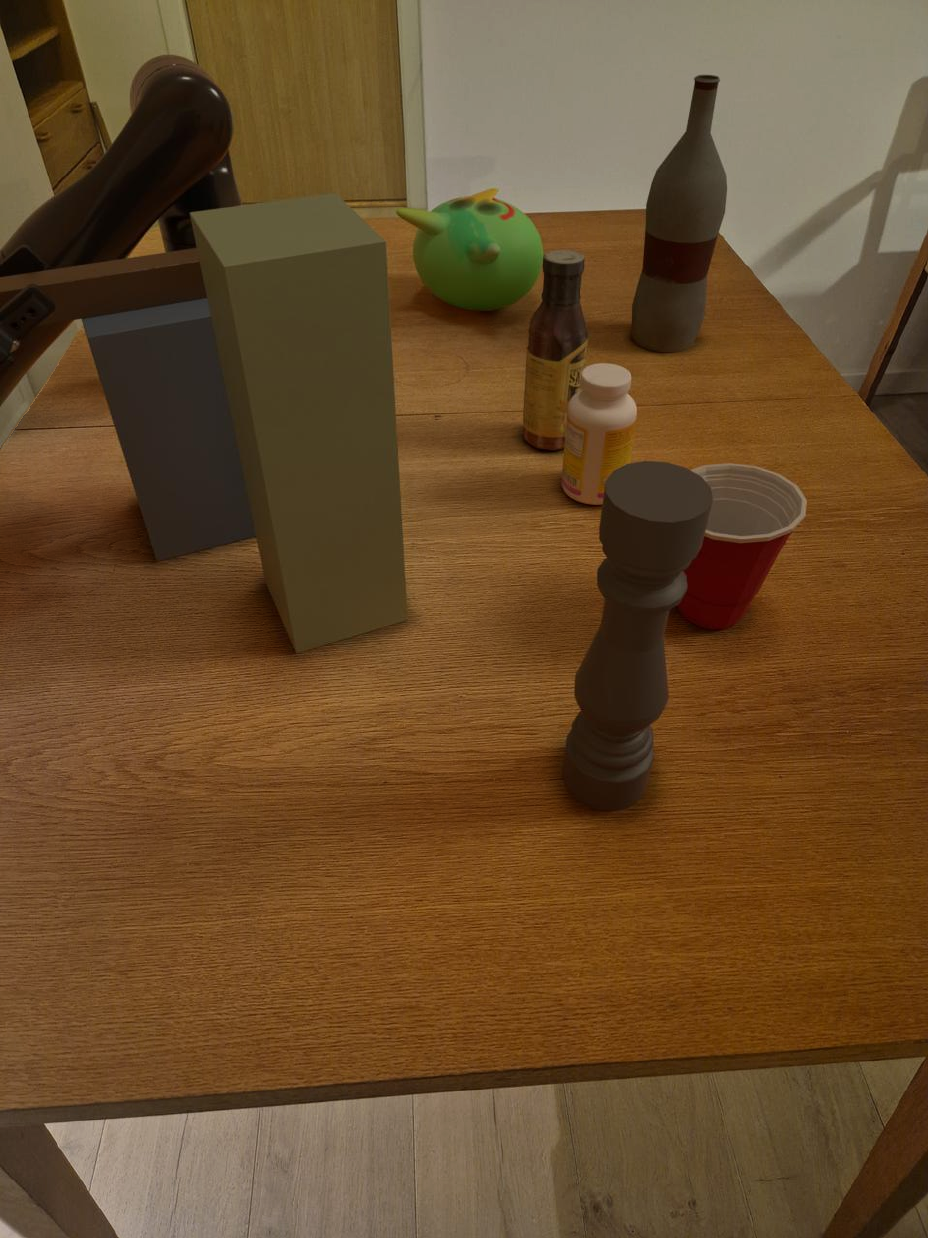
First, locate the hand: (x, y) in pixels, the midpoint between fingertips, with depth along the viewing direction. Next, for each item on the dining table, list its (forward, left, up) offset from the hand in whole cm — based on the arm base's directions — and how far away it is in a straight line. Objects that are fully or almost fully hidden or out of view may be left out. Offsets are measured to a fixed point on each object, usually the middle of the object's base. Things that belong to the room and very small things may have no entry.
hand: (40, 273), depth 66 cm
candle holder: (+50, -11, -26) cm, 57 cm away
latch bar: (+5, +5, -3) cm, 8 cm away
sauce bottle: (+33, +32, -26) cm, 52 cm away
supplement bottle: (+40, +24, -26) cm, 53 cm away
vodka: (+40, +61, -26) cm, 77 cm away
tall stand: (+23, -1, -25) cm, 34 cm away
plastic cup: (+54, +10, -26) cm, 60 cm away
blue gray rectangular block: (+5, +5, -25) cm, 26 cm away
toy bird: (+13, +62, -26) cm, 68 cm away
